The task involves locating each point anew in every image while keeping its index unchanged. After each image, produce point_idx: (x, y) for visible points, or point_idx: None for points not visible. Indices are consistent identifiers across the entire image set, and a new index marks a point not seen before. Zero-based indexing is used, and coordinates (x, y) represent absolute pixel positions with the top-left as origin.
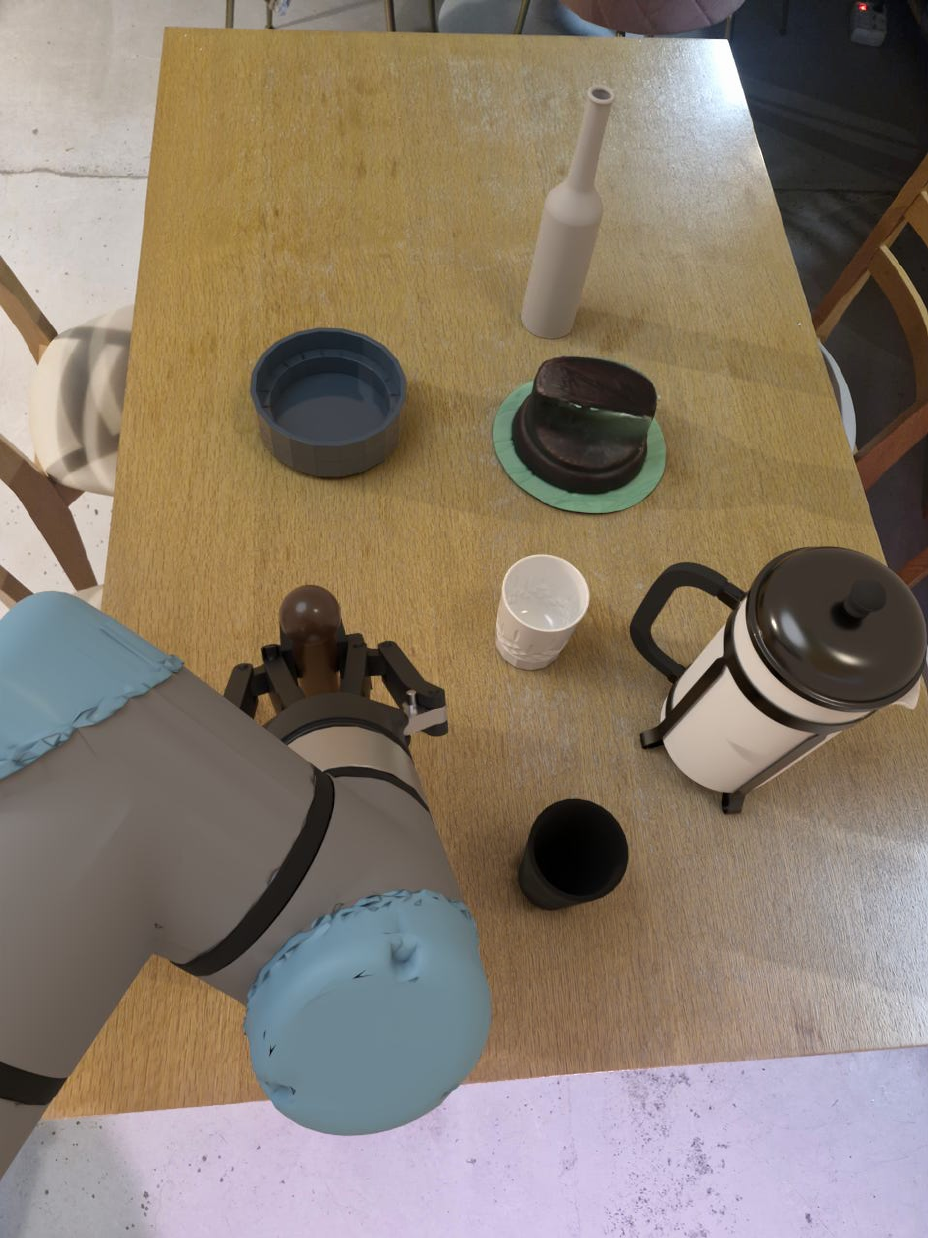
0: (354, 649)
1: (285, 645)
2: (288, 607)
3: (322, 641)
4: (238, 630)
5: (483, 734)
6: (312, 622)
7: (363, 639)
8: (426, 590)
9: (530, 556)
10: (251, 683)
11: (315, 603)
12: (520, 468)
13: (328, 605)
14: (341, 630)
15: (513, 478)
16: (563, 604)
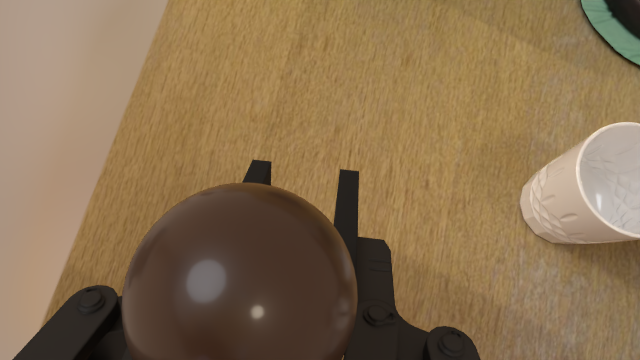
0: (366, 336)
1: None
2: (138, 287)
3: None
4: (256, 112)
5: (479, 300)
6: None
7: (390, 270)
8: (458, 119)
9: (627, 123)
10: (102, 346)
11: (248, 317)
12: (600, 7)
13: (307, 328)
14: (350, 237)
15: (589, 16)
16: (627, 185)
